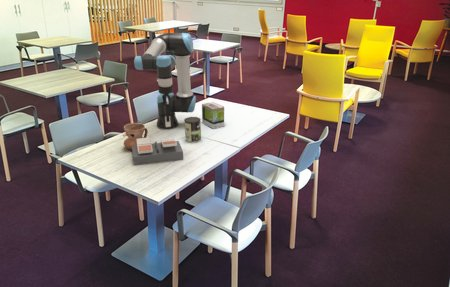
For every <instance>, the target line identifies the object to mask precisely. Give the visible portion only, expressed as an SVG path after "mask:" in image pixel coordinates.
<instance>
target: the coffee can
mask: <svg viewBox="0 0 450 287" xmlns="http://www.w3.org/2000/svg"><path fill="white" fill-rule="evenodd" d="M183 120H184V131H185V132H184V133H185V134H184V135H185V139H184V140H185V142H187V143H192V144H195V143H199V142H201V141H202V132H201V130H202V129H201V121H202V119H201V118H200V117H198V116H189V117H185V118H184V119H183Z"/></svg>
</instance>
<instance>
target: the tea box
mask: <svg viewBox="0 0 450 287" xmlns="http://www.w3.org/2000/svg"><path fill="white" fill-rule="evenodd" d="M201 116H202V117H201V118H202V119H201V121H202V122H201V123H202V124H204V125H205V126H207V127H210V128H211V129H213V130H214V129H218V128H222V127H225V106H223V105H221V104H219V103H216V102H214V101H211V102H205V103H202V104H201Z"/></svg>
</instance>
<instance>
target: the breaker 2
mask: <svg viewBox="0 0 450 287" xmlns="http://www.w3.org/2000/svg"><path fill="white" fill-rule="evenodd" d="M176 141H177V140H176V139H175V138H168V139H160V143H161V144H162V146H163V147H169V146H177V142H176Z"/></svg>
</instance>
